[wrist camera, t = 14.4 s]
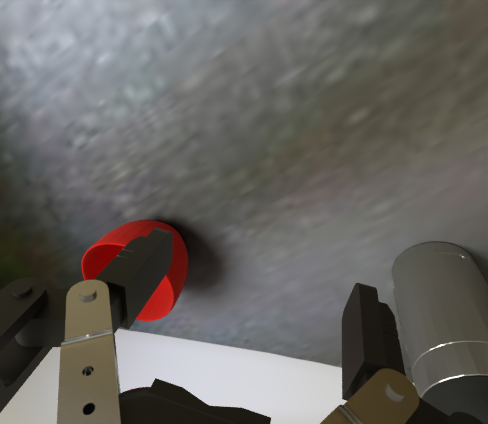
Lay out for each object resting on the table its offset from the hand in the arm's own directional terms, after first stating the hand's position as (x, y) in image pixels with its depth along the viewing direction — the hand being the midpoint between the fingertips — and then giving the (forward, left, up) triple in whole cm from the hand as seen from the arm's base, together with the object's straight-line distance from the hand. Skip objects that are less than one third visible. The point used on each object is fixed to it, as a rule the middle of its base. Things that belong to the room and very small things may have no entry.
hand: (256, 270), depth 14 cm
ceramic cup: (-23, +19, -25) cm, 39 cm away
